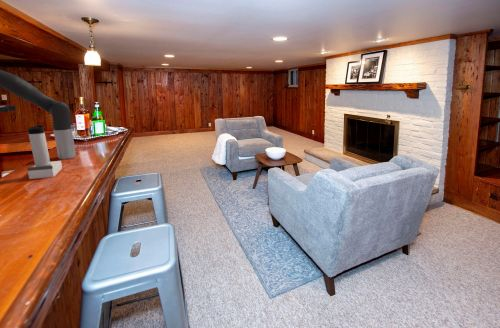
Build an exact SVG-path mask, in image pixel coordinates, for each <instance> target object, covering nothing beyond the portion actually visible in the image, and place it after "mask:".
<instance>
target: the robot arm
mask: <svg viewBox="0 0 500 328" xmlns="http://www.w3.org/2000/svg"><path fill="white" fill-rule="evenodd" d="M0 87H1V88H2V89H4V90H6V91H7V92H9V93H11V94H13V95H14V96H16V97H18V98H20V99H22V100H25V101H26V102H29V103H31V104H34V105H35V106H38V107H39V108H40V109H42V110H44V111H46V112H47V113H48V114H49V115H51V117H52V121H53V122H52V123H53V124H52V129H53V136H54V140H55V141H54V142H55V146H56V152H57V158H58V159H59V160H68V159H74V158H76V157H77V155H76V146H75V142H74V136H73V134H74V133H73V130H72V116H71V111H70V107H69V105H68V104H67V103H66V102H62V101H59V100H55V99H54V98H52V97H50V96H47V95H46V94H44V93H43V92H42V91H40V90H39V89H38V88H37V87H35V86H34V85H32V84H31V83H30V82H28V81H26V80H25V79H23V78H21V77H20V76H18V75H15V74H13V73H10V72H7V71H5V70H1V69H0ZM10 111H11V112H12V111H14V112H15V111H17V106H16V105H6V104H5V105H0V113H9V112H10Z"/></svg>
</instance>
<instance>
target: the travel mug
mask: <svg viewBox="0 0 500 328" xmlns="http://www.w3.org/2000/svg"><path fill="white" fill-rule="evenodd" d="M27 131H28V133H27V134H28V137H29V142H30V147H31V152H32V156H33V161H34V166H35V167H38V166H50V165H51V163H50V162H51V160H50V154H49V150H48V144H47V138H46V133H45V129H44V124H43V125H42V124H41V125H40V124H39V125H36V126H35V125H34V126H30V127H28V128H27Z"/></svg>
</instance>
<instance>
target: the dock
mask: <svg viewBox="0 0 500 328" xmlns="http://www.w3.org/2000/svg"><path fill="white" fill-rule="evenodd" d="M50 163H51V165H50V166H38V167H35V165H33V166H27V167H26V169H27V174H28V178H29V180H32V179H45V178H54V177H55V176H56V175H57V174H58V173H59V172H60V171H61V170H62V169H63V166H62V165H63V164H62V161H61V160H57V161H50Z"/></svg>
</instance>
